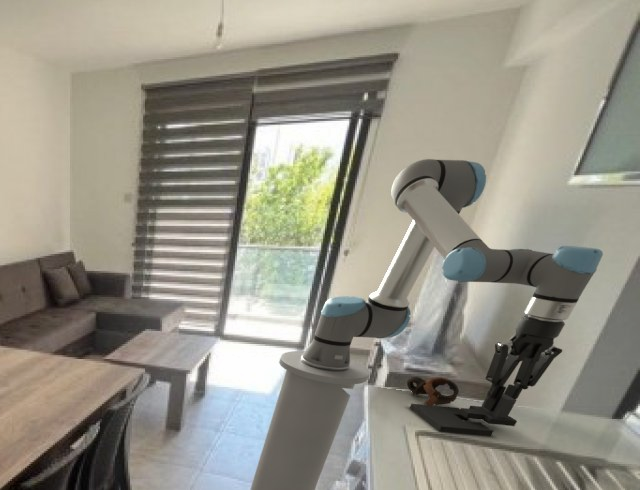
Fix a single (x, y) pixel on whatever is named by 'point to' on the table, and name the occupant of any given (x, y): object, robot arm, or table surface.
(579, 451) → the table surface
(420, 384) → the brown double ring
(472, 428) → the large pad
